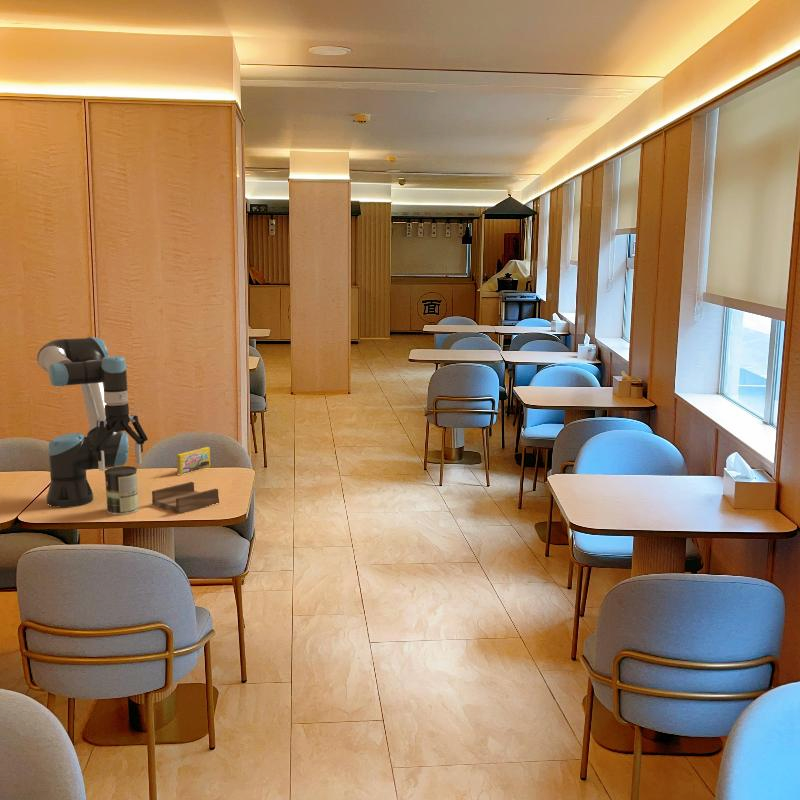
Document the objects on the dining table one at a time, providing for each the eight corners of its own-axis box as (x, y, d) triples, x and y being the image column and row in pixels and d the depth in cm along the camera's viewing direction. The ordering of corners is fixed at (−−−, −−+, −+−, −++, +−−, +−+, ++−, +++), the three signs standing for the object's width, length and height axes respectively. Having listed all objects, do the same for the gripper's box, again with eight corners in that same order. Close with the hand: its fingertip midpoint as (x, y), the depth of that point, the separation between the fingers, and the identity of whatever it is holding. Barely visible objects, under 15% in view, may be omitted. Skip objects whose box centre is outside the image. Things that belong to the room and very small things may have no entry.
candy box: (180, 476, 348) (179, 455, 347) (176, 475, 349) (175, 454, 348) (211, 467, 362) (210, 447, 360) (207, 466, 363) (206, 446, 361)
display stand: (152, 505, 309) (151, 491, 308) (191, 495, 321) (190, 481, 320) (179, 514, 298) (179, 499, 297) (219, 503, 310) (218, 489, 309)
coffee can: (104, 515, 297) (101, 474, 295) (110, 507, 307) (107, 466, 305) (136, 514, 298) (133, 473, 296) (141, 505, 308) (139, 465, 306)
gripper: (87, 410, 285) (92, 475, 288) (155, 399, 303) (159, 461, 307) (75, 407, 290) (80, 471, 293) (143, 397, 308) (146, 458, 312)
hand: (120, 466), depth 300 cm, fingers open, 13 cm apart
